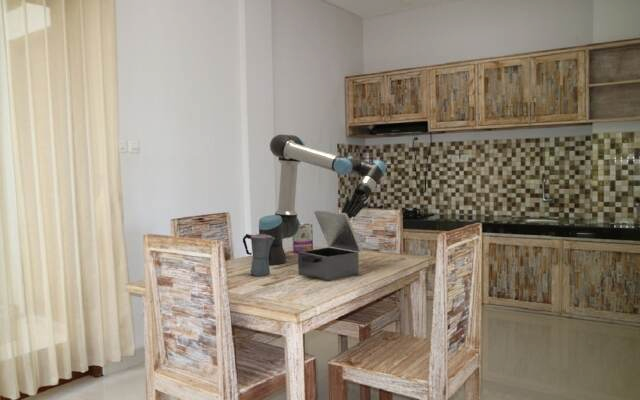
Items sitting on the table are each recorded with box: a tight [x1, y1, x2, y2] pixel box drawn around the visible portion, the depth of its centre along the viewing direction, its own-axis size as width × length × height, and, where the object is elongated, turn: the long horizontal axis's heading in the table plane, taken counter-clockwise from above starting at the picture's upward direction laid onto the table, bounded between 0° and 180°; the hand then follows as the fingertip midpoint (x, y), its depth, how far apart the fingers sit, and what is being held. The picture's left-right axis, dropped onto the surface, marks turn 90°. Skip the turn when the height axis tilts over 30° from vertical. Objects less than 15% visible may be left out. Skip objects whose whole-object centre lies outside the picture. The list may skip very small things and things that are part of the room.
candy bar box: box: [291, 222, 314, 254], centre depth 278 cm, size 11×5×16 cm, turn 102°
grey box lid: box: [313, 210, 362, 253], centre depth 221 cm, size 21×19×1 cm
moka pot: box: [242, 230, 275, 277], centre depth 220 cm, size 10×15×20 cm, turn 78°
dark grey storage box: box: [297, 246, 360, 282], centre depth 217 cm, size 20×20×10 cm
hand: (339, 227), depth 220 cm, fingers closed
